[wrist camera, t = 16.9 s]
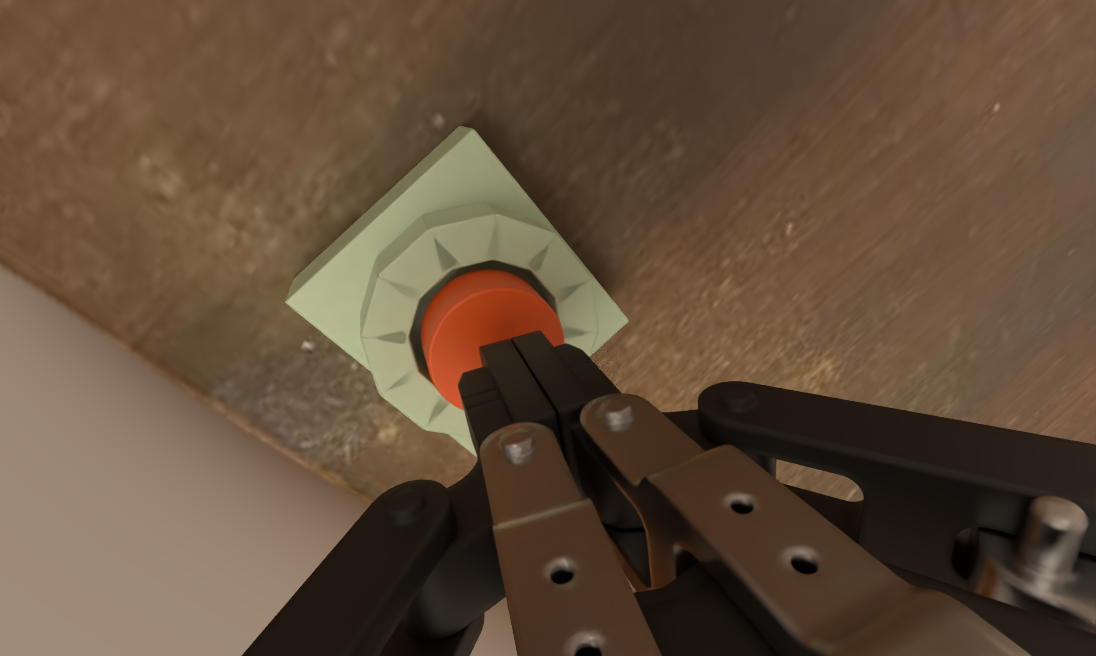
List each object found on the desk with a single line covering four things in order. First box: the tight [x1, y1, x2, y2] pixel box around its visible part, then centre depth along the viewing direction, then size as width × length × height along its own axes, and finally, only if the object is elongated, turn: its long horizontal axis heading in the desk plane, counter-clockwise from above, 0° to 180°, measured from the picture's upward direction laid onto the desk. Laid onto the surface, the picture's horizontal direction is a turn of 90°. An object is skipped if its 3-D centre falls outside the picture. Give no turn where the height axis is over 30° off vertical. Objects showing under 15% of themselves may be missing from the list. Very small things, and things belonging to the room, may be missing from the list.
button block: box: [285, 126, 629, 457], centre depth 17 cm, size 8×7×4 cm
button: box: [421, 269, 565, 410], centre depth 15 cm, size 4×4×2 cm
